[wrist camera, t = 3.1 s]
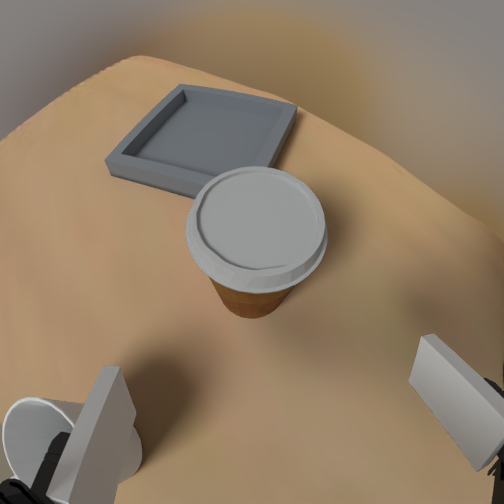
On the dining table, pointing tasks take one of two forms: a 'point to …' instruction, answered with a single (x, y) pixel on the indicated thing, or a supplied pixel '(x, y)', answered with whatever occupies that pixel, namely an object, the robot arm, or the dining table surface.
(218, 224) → the disposable coffee cup
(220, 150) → the slate tray
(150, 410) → the dining table surface
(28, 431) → the mug
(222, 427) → the dining table surface
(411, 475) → the dining table surface
